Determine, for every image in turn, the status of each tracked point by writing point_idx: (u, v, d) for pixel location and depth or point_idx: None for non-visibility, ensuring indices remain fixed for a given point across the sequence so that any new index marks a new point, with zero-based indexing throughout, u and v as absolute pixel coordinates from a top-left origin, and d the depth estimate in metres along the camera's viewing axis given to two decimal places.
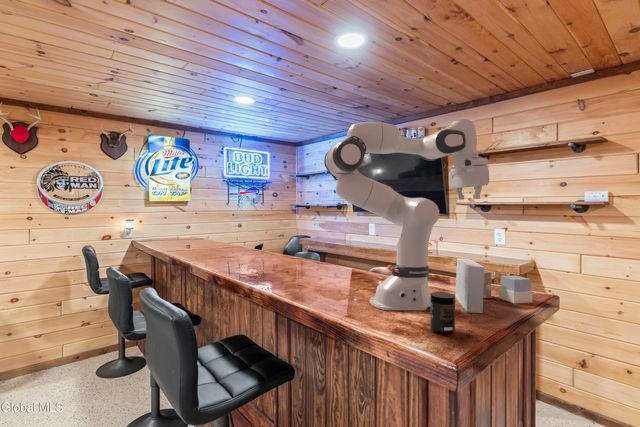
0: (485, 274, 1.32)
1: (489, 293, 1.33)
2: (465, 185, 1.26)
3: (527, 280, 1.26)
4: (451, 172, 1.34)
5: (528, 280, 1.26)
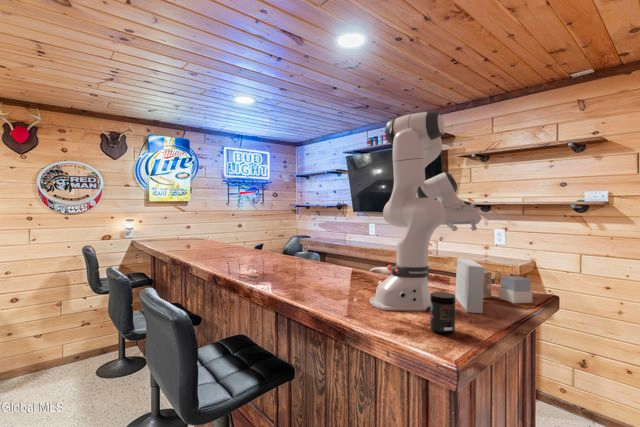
0: (485, 274, 1.32)
1: (489, 293, 1.33)
2: (464, 218, 1.49)
3: (527, 280, 1.26)
4: None
5: (528, 280, 1.26)
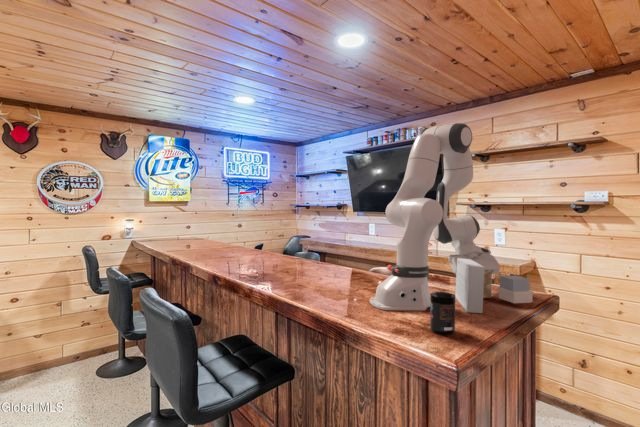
0: (485, 274, 1.32)
1: (489, 293, 1.33)
2: None
3: (526, 280, 1.26)
4: (457, 257, 1.39)
5: (527, 280, 1.26)
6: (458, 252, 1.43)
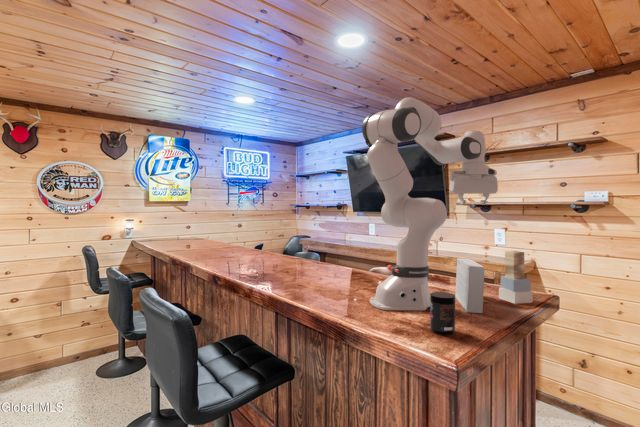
0: (518, 254, 1.27)
1: (522, 274, 1.27)
2: (478, 191, 1.37)
3: (527, 280, 1.26)
4: (460, 176, 1.36)
5: (528, 280, 1.26)
6: (464, 168, 1.38)
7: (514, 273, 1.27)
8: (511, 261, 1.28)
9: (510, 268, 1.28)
